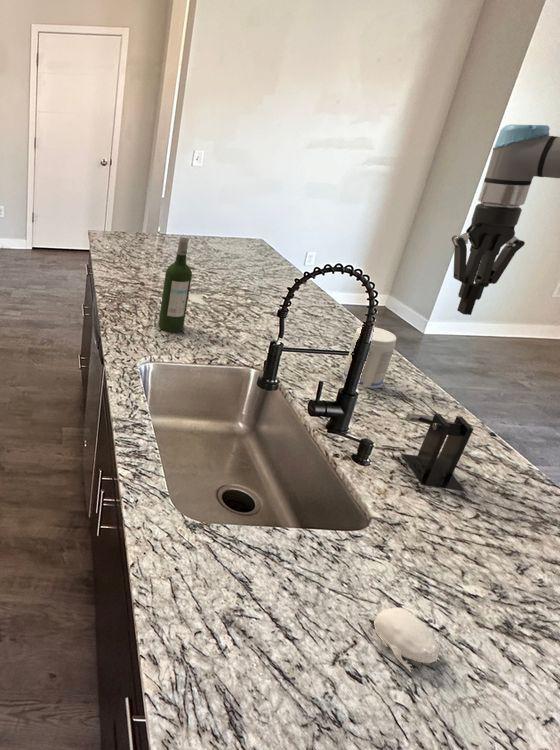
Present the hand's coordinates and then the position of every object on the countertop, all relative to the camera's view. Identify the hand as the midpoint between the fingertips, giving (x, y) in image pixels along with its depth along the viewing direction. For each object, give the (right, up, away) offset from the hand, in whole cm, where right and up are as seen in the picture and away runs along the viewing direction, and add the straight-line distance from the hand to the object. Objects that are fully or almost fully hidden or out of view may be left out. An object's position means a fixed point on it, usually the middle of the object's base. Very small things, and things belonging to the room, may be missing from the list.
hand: (464, 312), depth 119 cm
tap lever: (-12, -25, -7) cm, 28 cm away
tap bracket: (-13, -34, -7) cm, 37 cm away
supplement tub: (-7, -18, +27) cm, 33 cm away
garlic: (-41, -50, -41) cm, 76 cm away
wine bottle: (-53, -3, +55) cm, 76 cm away
